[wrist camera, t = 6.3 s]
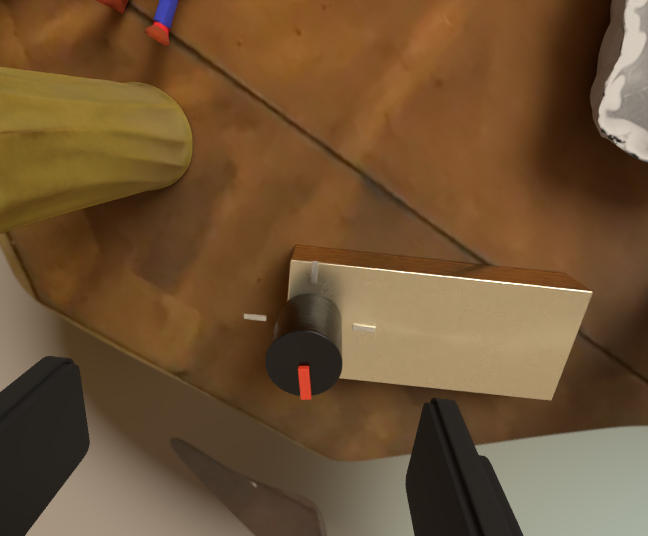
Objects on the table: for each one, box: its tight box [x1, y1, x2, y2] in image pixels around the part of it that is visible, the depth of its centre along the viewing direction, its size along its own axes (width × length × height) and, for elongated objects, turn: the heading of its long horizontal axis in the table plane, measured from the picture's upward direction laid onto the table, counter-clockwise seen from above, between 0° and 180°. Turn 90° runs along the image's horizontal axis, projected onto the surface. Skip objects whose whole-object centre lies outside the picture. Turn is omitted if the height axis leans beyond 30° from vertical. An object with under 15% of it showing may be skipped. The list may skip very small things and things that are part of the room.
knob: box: [265, 294, 343, 400], centre depth 22 cm, size 4×4×5 cm
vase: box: [0, 67, 193, 234], centre depth 17 cm, size 6×6×14 cm
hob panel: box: [244, 245, 593, 400], centre depth 25 cm, size 21×8×3 cm, turn 84°
